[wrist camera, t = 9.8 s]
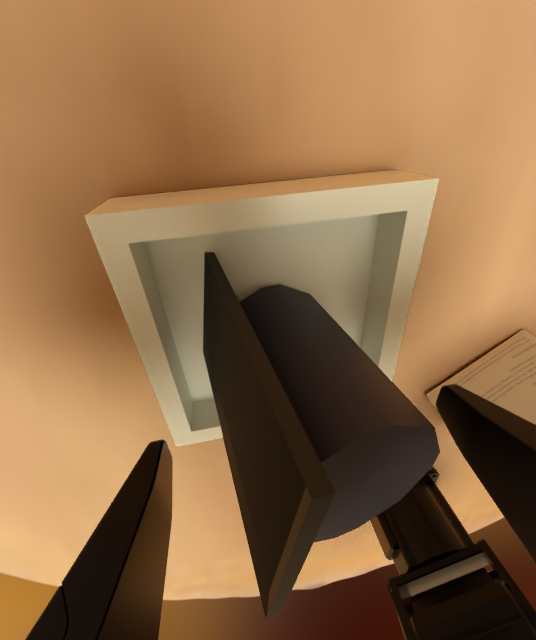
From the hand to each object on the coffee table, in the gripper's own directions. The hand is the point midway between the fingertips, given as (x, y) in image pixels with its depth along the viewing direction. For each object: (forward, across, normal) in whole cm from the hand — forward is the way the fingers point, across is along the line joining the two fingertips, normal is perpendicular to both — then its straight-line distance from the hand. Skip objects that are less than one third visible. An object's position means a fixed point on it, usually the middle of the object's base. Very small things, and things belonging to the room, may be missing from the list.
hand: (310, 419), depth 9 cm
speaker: (+7, 0, 0) cm, 7 cm away
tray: (+7, 0, 0) cm, 7 cm away
